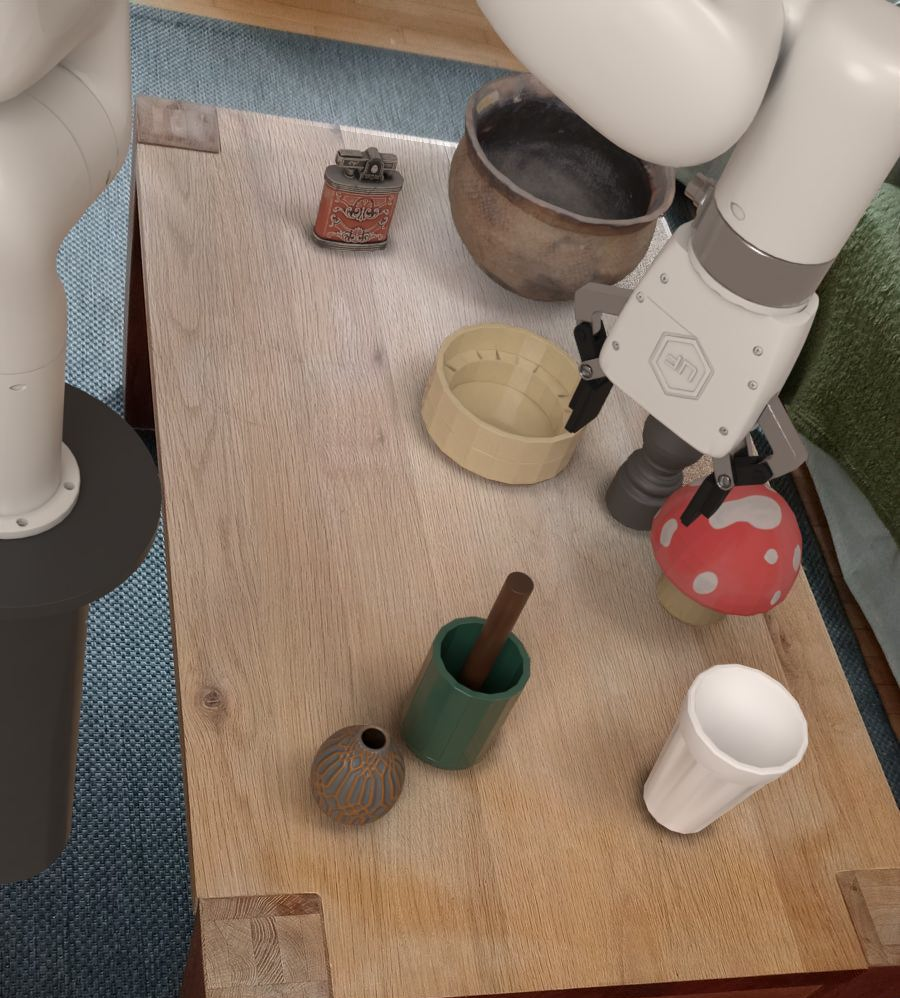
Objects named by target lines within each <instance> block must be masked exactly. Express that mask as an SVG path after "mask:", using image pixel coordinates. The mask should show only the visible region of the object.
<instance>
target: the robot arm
mask: <svg viewBox="0 0 900 998" xmlns="http://www.w3.org/2000/svg"><path fill="white" fill-rule="evenodd" d="M474 1H475V2H476V4H477V6H478V8H479V10H480V11H481V13H482V14H483V16H484V17H485V19H486V20H487V22H488V23H489V24H490V26H491V28H492V29H493V31H494V32H495V34H496V35H497V36H498V38H499V39H500V40H501V42H502V43H503V44H504V45H505V46H506V47H507V49H508V51H510V53H512V55H513V56H514V57H515V58H516V59H517V60H518V62H520V63H521V65H522V66H523V67H524V68H525V69H526V70H527V71H528V73H531V74H532V75H533V76H534V77H535V78H537V79H538V80H539V81H540V82H541V83H542V84H543V85H544V86H546V87H547V88H548V89H549V90H550V91H551V92H552V93H553V94H555V95H556V96H557V97H558V98H559V99H560V100H561V101H563V102H564V103H565V104H566V105H567V106H568V107H570V108H571V109H572V110H573V111H574V112H575V113H576V114H578V115H579V116H580V117H581V118H582V119H583V120H585V121H586V122H587V123H588V124H589V125H591V126H592V127H593V128H594V129H595V130H597V131H598V132H599V133H601V134H602V135H603V136H605V137H606V138H607V139H609V140H610V141H611V142H613V143H614V144H616V145H617V146H618V147H620V148H622V149H623V150H625V151H627V152H629V153H631V154H633V155H635V156H636V157H638V158H640V159H642V160H645V161H648V162H651V163H654V164H657V165H661V166H668V167H675V169H676V168H677V169H678V168H689V167H695V166H699V165H702V164H706V163H709V162H711V161H713V160H714V159H716V158H717V157H719V156H721V155H723V154H725V153H726V152H727V151H728V150H730V149H731V148H732V147H734V145H735V144H736V145H735V147H734V149H733V151H732V153H731V154H730V157H729V159H728V161H727V163H726V165H725V167H724V169H723V170H722V173H721V175H720V177H719V178H717V179H716V180H715V179H714V178H713V177H709V178H708V177H707V176H706V175H704V173H702V172H700V171H698V172H696V173H695V174H694V175H693V176H692V178H691V179H690V180H689V182H688V183H687V185H686V187H685V190H684V195H685V196H686V197H687V198H688V199H690V200H691V201H693V202H692V204H693V205H694V206H695V207H696V211H695V214H696V215H695V217H694V218H693V219H691V220H690V221H687V222H685V223H682V224H681V225H679V226H678V227H677V228H676V229H675V231H674V232H673V233H672V234H671V235H670V236H669V238H668V239H667V240H666V242H665V243H664V245H663V246H662V247H661V249H660V250H659V251H658V253H657V254H656V256H655V257H654V258H653V260H652V261H651V263H650V264H649V265H648V267H647V269H646V270H645V272H644V273H643V275H642V276H641V278H640V279H639V282H638V283H637V284H636V286H635V288H633V289H631V288H626V287H621V286H615V285H612V286H610V285H604V284H599V283H593V282H589V283H587V284H586V285H584V286H583V287H581V288H579V289H578V290H576V292H575V295H574V301H573V302H574V320H575V322H576V323H575V324H576V325H575V327H574V328H573V338H574V342H575V345H576V348H577V350H578V355H579V358H580V361H581V362H580V363H579V364H578V366H579V367H578V371H579V374H580V376H581V377H582V378H581V380H580V382H579V384H578V386H577V388H576V390H575V392H574V394H573V396H572V399H571V401H570V403H569V406H568V407H569V408H571V409H572V410H573V411H572V413H571V415H570V417H569V419H568V421H567V424H566V426H565V429H566V430H567V431H568V432H569V433H574V434H575V433H576V432H578V431H579V430H580V429H582V428H583V427H584V426H586V425H587V426H588V425H589V424H590V423H591V422H592V421H593V420H595V419H596V418H597V417H598V416H599V414H600V412H601V410H602V409H603V407H604V405H605V402H606V401H607V398H608V397H609V395H610V394H611V391H612V389H613V387H616V388H617V389H618V390H620V391H621V392H622V393H624V395H625V396H627V397H628V398H630V400H632V401H633V402H634V403H636V404H637V405H638V406H640V407H641V408H642V409H643V410H644V411H646V412H647V413H648V415H650V414H651V415H652V416H653V417H655V418H656V419H657V420H658V421H660V422H661V423H662V424H663V425H665V426H666V427H667V428H668V429H670V430H671V431H672V432H673V433H675V434H676V435H677V436H679V437H680V438H681V439H682V440H684V441H685V442H686V443H688V444H689V445H690V446H692V447H693V448H694V449H696V450H697V451H699V452H700V453H702V454H704V455H703V456H706V457H710V458H711V462H712V468H713V471H712V472H710V473H709V474H708V475H709V476H707V475H706V476H707V477H706V478H705V479H704V481H703V482H702V484H701V485H700V487H699V488H698V490H697V492H696V493H695V495H694V496H693V498H692V499H691V501H690V503H689V504H688V506H687V507H686V509H685V511H684V512H683V514H682V515H681V517H680V519H681V523H682V524H683V525H685V526H686V527H688V526H689V525H690V524H691V523H692V522H694V521H695V520H696V519H697V518H698V517H699V516H700V515H701V514H702V515H704V516H705V517H706V518H707V519H709V518H710V517H711V516H712V515H713V514H714V513H715V512H716V511H717V510H718V509H719V507H720V506H721V505H722V503H723V502H724V500H725V499H726V497H727V496H728V494H729V493H730V491H731V490H732V488H733V487H734V486H747V485H762V484H767V482H770V481H771V480H773V479H777V478H779V477H783V476H784V475H786V474H787V475H788V474H789V473H792V472H794V471H796V470H797V469H798V468H800V467H801V465H803V464H804V462H806V461H807V459H808V457H809V452H808V450H807V449H806V447H805V444H804V443H803V441H802V439H801V437H800V435H799V434H798V431H797V430H796V428H795V426H794V424H793V421H791V418H790V417H789V414H788V412H787V411H786V409H785V406H784V405H783V403H782V401H781V399H780V398H779V395H780V393H781V391H782V389H783V387H784V386H785V384H786V381H788V378H789V376H790V375H791V372H792V370H793V368H794V366H795V364H796V362H797V360H798V358H799V357H800V354H801V352H802V349H803V347H804V345H805V343H806V340H807V338H808V335H809V333H810V331H811V328H812V325H813V323H814V320H815V317H816V315H817V311H818V309H819V304H820V298H819V295H818V294H817V293H816V291H817V289H818V288H819V286H820V285H821V283H822V282H823V280H824V278H825V277H826V275H827V273H828V272H829V270H830V269H831V267H832V265H833V264H834V262H835V260H836V259H837V258H838V256H839V254H840V252H841V250H842V249H843V247H845V245H846V244H847V240H849V238H850V236H851V235H852V233H853V232H854V230H855V229H856V227H857V225H858V224H859V222H860V221H861V219H862V217H863V216H864V214H865V213H866V211H867V209H868V208H869V206H870V204H871V203H872V201H873V200H874V199H875V196H877V193H878V192H879V190H881V189H880V188H881V187H882V185H883V184H884V182H885V181H886V179H887V177H888V176H889V174H890V172H891V171H892V169H893V168H894V166H895V164H896V163H897V162H898V160H899V158H900V6H898V5H897V4H895V3H892V2H891V1H888V0H474ZM131 47H132V46H131V11H130V0H0V539H16V538H24V537H29V536H33V535H37V534H40V533H42V532H44V531H47V530H49V529H51V528H53V527H54V526H56V525H57V524H59V523H60V522H62V521H63V520H64V519H65V518H66V517H67V516H68V515H69V514H70V512H71V511H72V509H73V508H74V506H75V504H76V502H77V499H78V496H79V491H80V471H79V467H78V464H77V462H76V459H75V457H74V456H73V454H72V452H71V451H70V449H69V448H68V447H67V446H66V445H65V444H64V443H63V442H62V432H63V410H64V388H65V382H66V368H67V367H66V364H67V363H66V362H67V345H68V344H67V343H68V299H67V292H66V290H65V286H64V284H63V281H62V280H61V278H60V276H59V274H58V270H57V258H58V254H59V250H60V247H61V246H62V244H63V241H64V240H65V238H66V237H67V236H68V234H69V233H70V232H71V230H72V229H73V228H74V227H75V226H76V224H77V223H79V221H80V220H81V219H82V217H84V214H85V213H86V212H87V210H88V209H89V208H90V207H91V206H92V204H94V202H95V201H96V200H97V199H98V198H99V197H100V196H101V194H103V192H104V191H105V190H106V189H107V188H109V185H111V183H112V182H113V181H114V180H115V178H116V177H117V176H118V174H119V173H120V171H121V169H122V167H123V165H124V164H125V162H126V160H127V157H128V154H129V151H130V144H131V140H132V139H131V138H132V128H133V93H132V91H133V90H132V89H133V88H132V87H133V86H132V55H131V53H132V49H131ZM603 314H606V315H612V316H616V317H617V318H616V320H615V321H614V323H613V325H612V326H611V329H610V330H609V332H608V334H607V331H606V328H605V324H604V322H603V319H602V316H603ZM587 426H586V427H587ZM757 428H760V430H761V431H762V433H763V435H764V437H765V439H766V440H767V443H768V444H769V447H770V448H771V450H772V454H760V455H754V453H753V451H754V450H753V443H752V438H751V432H753V431H754V430H756V429H757Z"/></svg>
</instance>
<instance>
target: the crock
mask: <svg viewBox="0 0 900 998" xmlns="http://www.w3.org/2000/svg"><path fill="white" fill-rule="evenodd" d="M486 619H487V618H484V617H480V616H475V615H474V616H473V615H472V616H464V617H456V618H454V619H452V620H451V621H449V622H448V623H447V622H446V623H445V624H444V625H442V626H441V627H440V628H439V630H438V631H437V633H436V635H435V637H434V638H433V640H432V643H431V645H430V646H429V649H428V652H427V653H426V655H425V658H424V661H423V662H422V665H421V667H420V670H419V671H418V673H417V676H416V678H415V681H414V683H413V685H412V687H411V689H410V692H409V693H408V696H407V698H406V701H405V703H404V706H403V708H402V711H401V714H400V720H399V724H400V725H399V728H400V732H401V735H402V738H403V740H404V742H405V744H406V746H407V747H408V748H409V750H410V751H411V752H412V753H413V754H414V755H415V756H416V757H417V758H418V759H420V760H421V761H422V762H424V763H426V764H428V765H429V766H432V767H434V768H437V769H440V770H448V771H461V770H465V769H469V768H471V767H473V766H475V765H477V764H478V763H480V762H481V761H482V760H483V759H484V758H485V756H486V755H487V754H488V752H489V751H490V748H492V747H491V746H492V745H493V744H494V742H495V740H496V738H497V736H498V735H499V733H500V731H501V729H502V728H503V725H504V724H505V723H506V721H507V719H508V717H509V715H510V713H511V712H512V710H513V708H514V707H515V705H516V703H517V701H518V699H519V698H520V696H521V695H522V692H523V691H524V689H525V687H526V685H527V683H528V682H529V679H530V677H531V676H532V675H531V657H530V655H529V653H528V651H527V649H526V646H525V645H524V643H523V641H521V640H520V639H519V638H518V636H516V634H515V633H514V632H513V630H512V631H511V633H510V635H509V637H508V639H507V641H506V642H505V644H504V646H503V648H502V650H501V652H500V654H499V656H498V658H497V660H496V662H495V663H494V665H493V667H492V669H491V671H490V673H489V675H488V677H487V679H486V681H485V683H484V684H483V686H482V688H481V690H480V692H476V691H472V690H471V689H469V688H467V687H465V686H463V685H461V684H460V683H458V682H457V681H456V680H457V678H458V676H459V674H460V672H461V670H462V668H463V666H464V664H465V662H466V660H467V658H468V656H469V653H470V651H471V649H472V647H473V645H474V643H475V641H476V639H477V637H478V635H479V633H480V631H481V629H482V627H483V625H484V623H485V621H486Z"/></svg>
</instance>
